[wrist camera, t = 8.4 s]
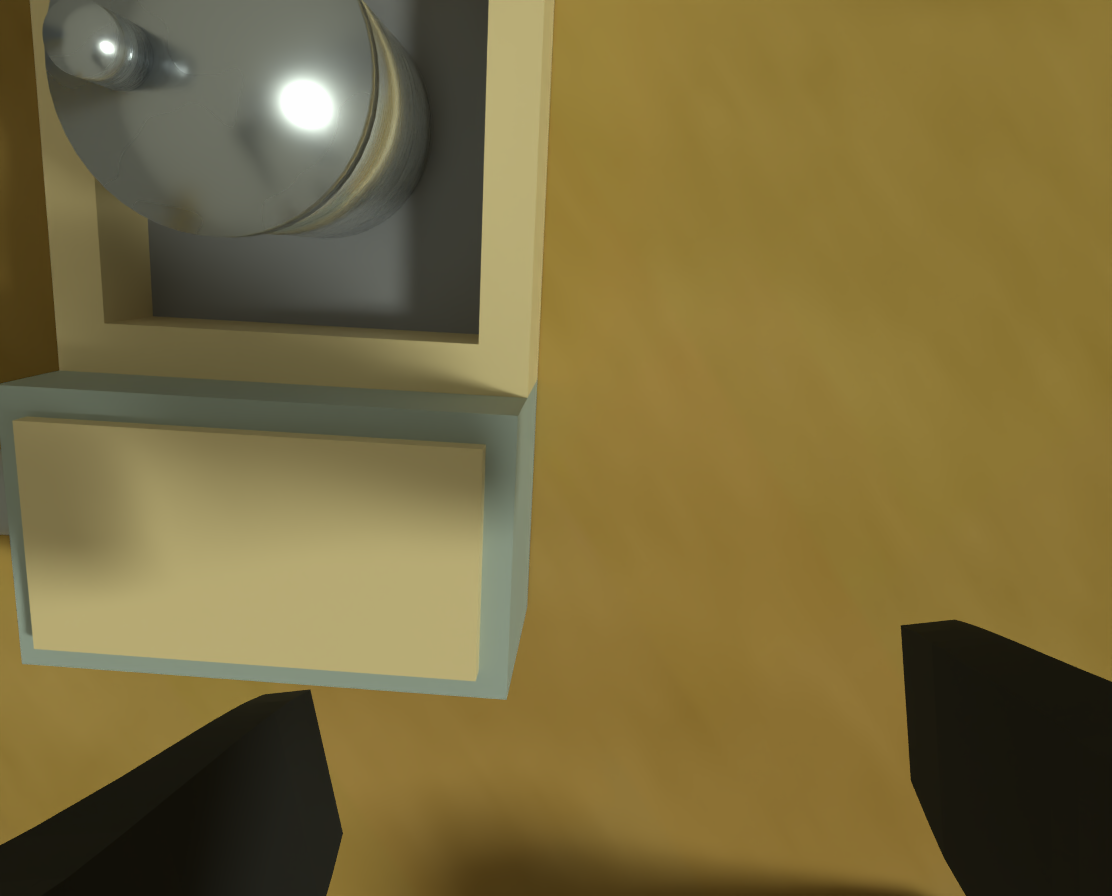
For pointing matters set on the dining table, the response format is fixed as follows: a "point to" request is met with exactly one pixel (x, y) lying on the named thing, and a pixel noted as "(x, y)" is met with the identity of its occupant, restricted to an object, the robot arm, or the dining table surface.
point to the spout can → (241, 111)
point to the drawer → (297, 409)
